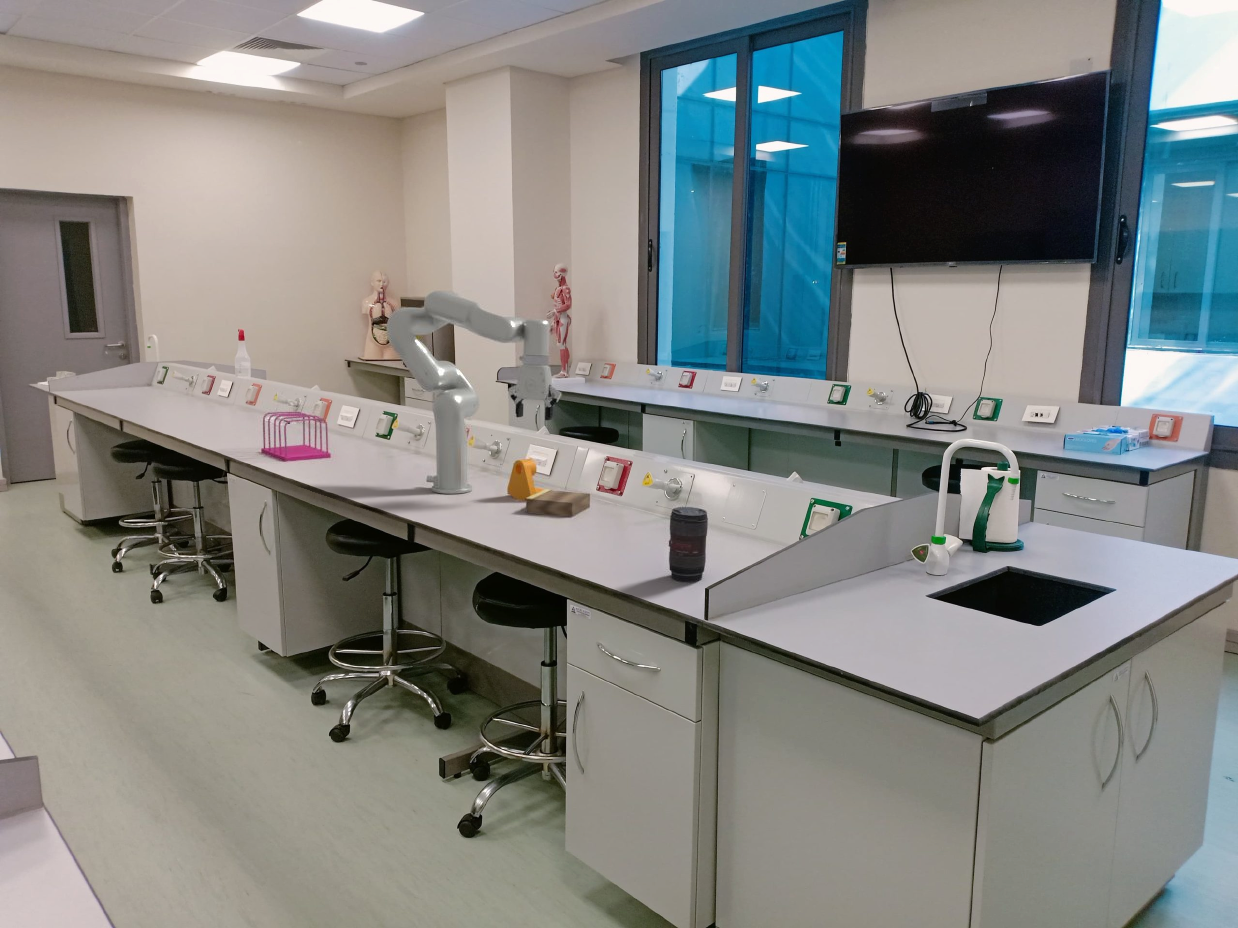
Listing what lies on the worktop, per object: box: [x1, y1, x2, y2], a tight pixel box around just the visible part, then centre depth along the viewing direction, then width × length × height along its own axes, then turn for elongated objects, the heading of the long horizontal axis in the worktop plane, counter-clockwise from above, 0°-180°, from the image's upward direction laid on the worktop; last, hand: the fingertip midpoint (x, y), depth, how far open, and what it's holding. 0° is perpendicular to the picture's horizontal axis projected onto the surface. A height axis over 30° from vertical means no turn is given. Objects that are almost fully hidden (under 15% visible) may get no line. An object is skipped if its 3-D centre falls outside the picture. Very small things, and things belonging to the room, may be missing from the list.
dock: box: [525, 488, 591, 518], centre depth 259 cm, size 14×14×4 cm
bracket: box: [507, 458, 546, 502], centre depth 274 cm, size 11×7×12 cm, turn 46°
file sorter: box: [261, 411, 332, 462], centre depth 342 cm, size 17×25×16 cm
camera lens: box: [668, 506, 709, 583], centre depth 195 cm, size 8×8×15 cm
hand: (533, 418), depth 271 cm, fingers open, 9 cm apart
